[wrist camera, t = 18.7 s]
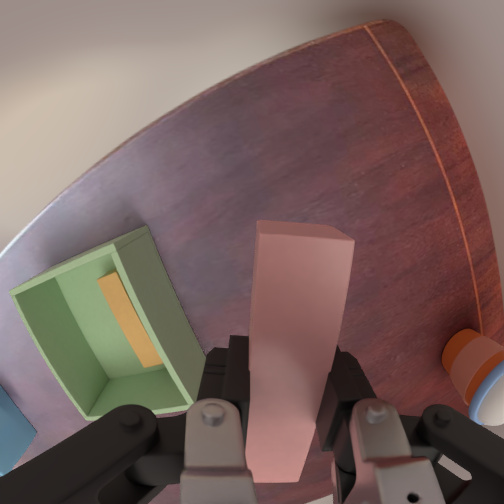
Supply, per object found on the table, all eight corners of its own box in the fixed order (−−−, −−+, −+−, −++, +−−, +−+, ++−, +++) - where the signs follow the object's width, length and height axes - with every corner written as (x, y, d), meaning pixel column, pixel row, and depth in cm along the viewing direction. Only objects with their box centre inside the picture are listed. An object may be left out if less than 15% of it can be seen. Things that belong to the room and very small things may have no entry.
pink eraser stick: (256, 219, 10) (258, 232, 7) (331, 225, 10) (355, 240, 7) (240, 442, 12) (239, 482, 10) (292, 443, 12) (298, 482, 10)
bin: (50, 267, 28) (8, 291, 21) (147, 224, 27) (113, 242, 20) (110, 380, 32) (86, 421, 24) (207, 360, 31) (197, 408, 23)
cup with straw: (486, 307, 30) (578, 377, 12) (479, 362, 32) (548, 436, 14) (433, 332, 30) (523, 427, 13) (429, 386, 32) (493, 480, 15)
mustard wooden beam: (106, 271, 27) (96, 279, 25) (125, 264, 27) (115, 271, 25) (150, 355, 30) (144, 368, 27) (169, 350, 30) (164, 363, 27)
